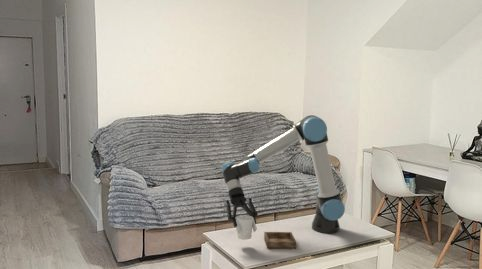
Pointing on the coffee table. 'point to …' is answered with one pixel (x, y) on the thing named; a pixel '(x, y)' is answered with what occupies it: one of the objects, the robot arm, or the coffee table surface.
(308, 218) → the coffee table surface
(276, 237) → the tray
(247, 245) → the coffee table surface
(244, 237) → the white cup
